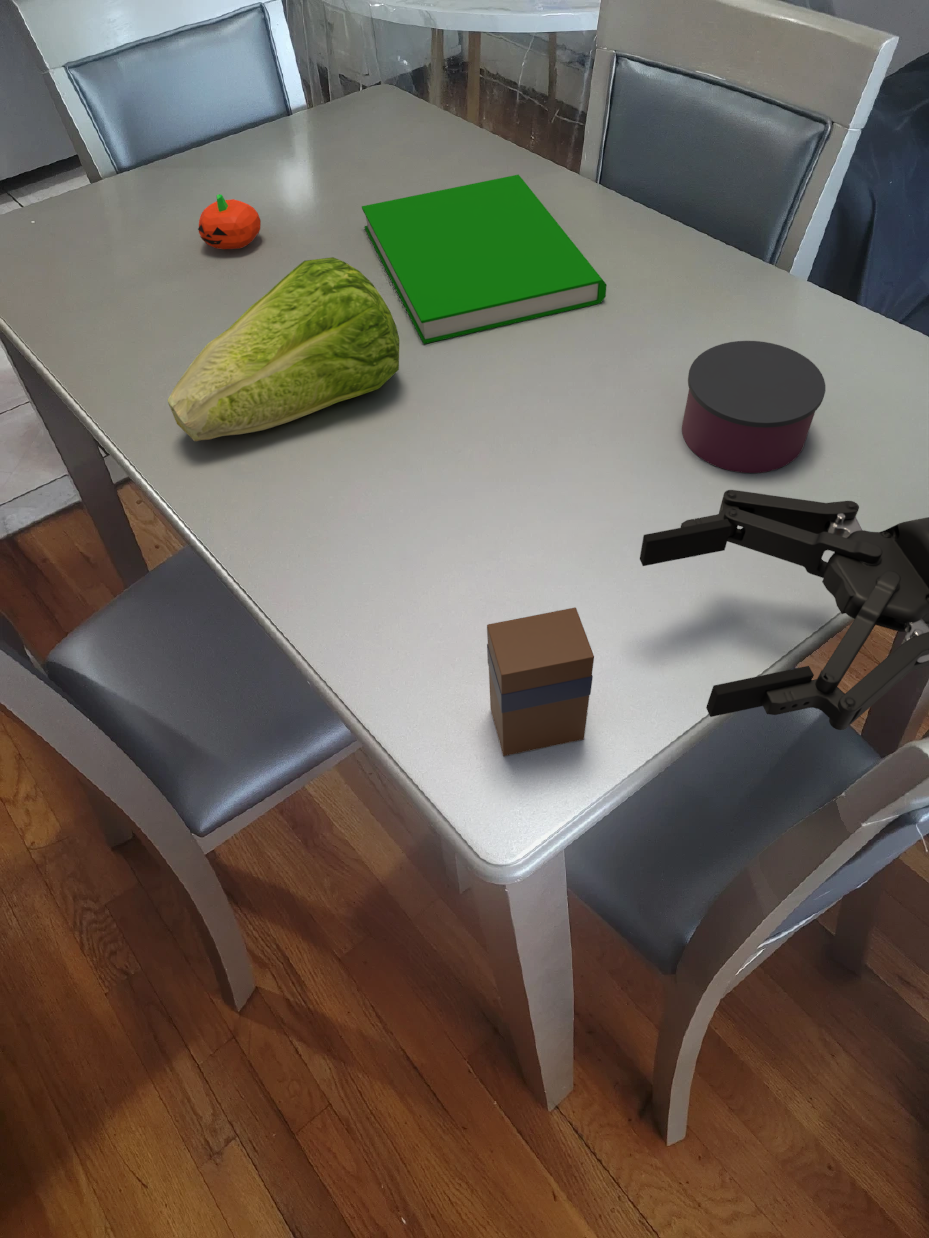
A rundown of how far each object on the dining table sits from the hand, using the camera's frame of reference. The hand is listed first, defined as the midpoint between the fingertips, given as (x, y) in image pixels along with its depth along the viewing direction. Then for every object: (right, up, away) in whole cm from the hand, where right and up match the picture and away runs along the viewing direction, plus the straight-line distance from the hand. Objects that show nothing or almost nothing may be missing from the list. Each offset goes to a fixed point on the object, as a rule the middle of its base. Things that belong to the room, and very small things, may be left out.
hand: (674, 621), depth 60 cm
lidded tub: (+13, +19, +27) cm, 35 cm away
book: (-13, +45, +49) cm, 68 cm away
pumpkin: (-45, +50, +55) cm, 87 cm away
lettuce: (-34, +24, +33) cm, 53 cm away
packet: (-9, -8, +7) cm, 14 cm away
